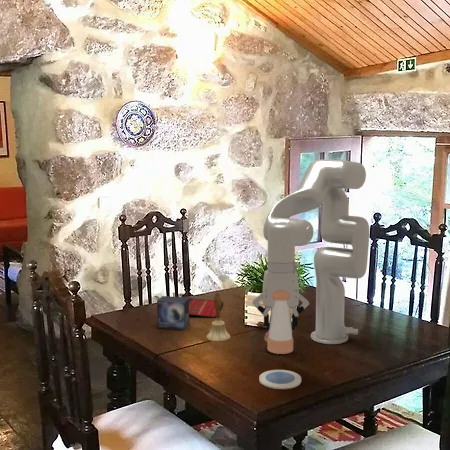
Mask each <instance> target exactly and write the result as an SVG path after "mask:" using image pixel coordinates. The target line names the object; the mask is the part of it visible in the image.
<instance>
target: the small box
mask: <svg viewBox="0 0 450 450" xmlns="http://www.w3.org/2000/svg"><path fill="white" fill-rule="evenodd" d="M189 298H190V297H185V296H184V297H183V296H182V297H181V296H167V295H161V297H159V298H158V299H157V300H156V309H157V310H156V311H157V316H156V317H157V328H158V329H166V330H167V329H170V330H178V331H181V330H182V331H185V330H187V328H188V327H189V326H190V324H191V323H190V318H189Z"/></svg>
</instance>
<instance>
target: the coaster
mask: <svg viewBox="0 0 450 450" xmlns="http://www.w3.org/2000/svg"><path fill="white" fill-rule="evenodd" d="M258 378H259V379H258V380H259V383H260V384H261V385H262V386H264V387H266V388H269V389H273V390H289V389H293V388H297V387H298V386H300V385H301V383H302V377H301V375H300V374H298V373H297V372H295V371H292V370H286V369H271V370H267V371H264V372H262V373H261V374H259V377H258Z"/></svg>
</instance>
